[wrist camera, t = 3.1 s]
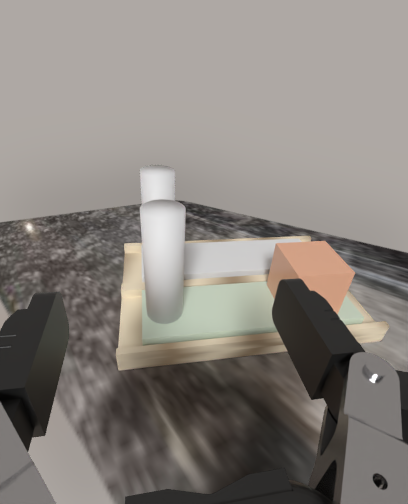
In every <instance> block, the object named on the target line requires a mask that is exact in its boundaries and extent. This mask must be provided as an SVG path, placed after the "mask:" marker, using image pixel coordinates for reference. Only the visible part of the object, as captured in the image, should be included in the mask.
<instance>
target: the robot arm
mask: <svg viewBox="0 0 408 504" xmlns="http://www.w3.org/2000/svg"><path fill="white" fill-rule="evenodd" d="M272 319H273V322H274V325H275V327H276V329H277V331H278V333H279V335H280V337H281V339H282V341H283V343H284V345H285V347H286V349H287V351H288V353H289V355H290V357H291V359H292V361H293V363H294V366H295V368H296V370H297V372H298V374H299V376H300V378H301V380H302V382H303V384H304V386H305V388H306V390H307V392H308V394H309V396H310V398H311V400H314V399H321V398H324V400H325V402H326V404H327V405H326V407H325V410H324V416H323V422H322V427H321V433H320V439H319V444H318V450H317V456H316V461H315V465H314V468H313V471H312V474H311V477H310V480H309V484H308V486H307V485H305V484H303V483H300V482H296V481H293V480H289V479H288V476H287V473H286V470H285V468H281V469H275V470H270V471H264V472H259V473H253V474H248V475H246V476H245V477H243V478H241V479H239V480H237V481H235V482H234V483H232V484H230V485H228V486H226V487H225V488H223V489H221V490H219V491H217V492H215V493H213V494H201V493H193V492H186V491H178V490H171V489H165V490H160V491H154V492H149V493H143V494H138V495H132V496H127V497H125V504H408V372H402V371H397V370H395V369H394V368H393V367H392V366H391V365H390V364H389V363H388V362H387V361H385V360H384V359H382V358H381V357H379V356H377V355H374V354H371V353H367V352H365V351H364V349H363V348H362V347H361V345H360V344H359V343H358V341H357V340H356V339H355V337H354V336H353V335H352V333H351V332H350V331H349V329H348V328H347V327H346V325H345V324H344V323H343V321H342V320H340V317H339V316H338V315H337V313H336V312H335V311H333V308H332V307H331V305H330V304H329V303H328V301H327V300H326V299H325V298H324V297H322V296H321V295H320V294H318V293H317V292H316V291H310V290H309V288H308V287H307V286H306V284H305V283H304V281H303V280H302V279H300V278H297V279H282V280H280V281H279V284H278V288H277V292H276V295H275V299H274V303H273V307H272ZM68 339H69V324H68V319H67V315H66V311H65V307H64V303H63V299H62V295H61V293H60V292H48V293H35V294H34V295H33V297H32V300H31V302H30V304H29V306H28V309H22V310H17V311H16V312H15V313H14V314H13V315H11V316H10V317H9V318H8V319H7V320H6V321H5V323H4V324H3V326H2V328H1V331H0V504H56V502H55V501H54V499H53V497H52V495H51V493H50V492H49V490H48V488H47V486H46V484H45V482H44V480H43V479H42V477H41V475H40V473H39V471H38V470H37V468H36V466H35V464H34V462H33V461H32V459H31V457H30V456H29V454H28V450H29V446H30V443H31V439H32V437H39V436H45V433H46V429H47V425H48V421H49V417H50V413H51V409H52V405H53V401H54V397H55V393H56V389H57V385H58V381H59V377H60V373H61V368H62V364H63V360H64V356H65V352H66V348H67V344H68Z"/></svg>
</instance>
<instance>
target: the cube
mask: <svg viewBox="0 0 408 504" xmlns="http://www.w3.org/2000/svg"><path fill="white" fill-rule="evenodd" d="M354 274H355V272H354V271H353V270H352V269H351V268H350V267H349V266H348V265H347V264H346V263H345V262H344V260H343V259H342V258H341V257H340V256H339V255H338V254H337V253H336V252H335V251H334V250H333V249H332V248H331V247H330V246H329V245H328V244H327V242H326V241H313V242H291V243H276V245H275V249H274V254H273V258H272V263H271V267H270V272H269V276H268V281H267V286H268V288H269V290H270V292H271V294H272V296H273V298H274V299H275V295H276V292H277V288H278V284H279V281H280V280H282V279H297V278H300V279H302V280H303V281H304V283H305V284H306V286H307V287H308V288H309V290H310V291H316V292H317V293H318V294H320V295H321V296H322V297H324V298H325V299H326V300H327V301H328V303H329V304H330V305H331V307H332V308H333V311H335V312H336V313H337V315H338V312H339V310H340V308H341V305H342V303H343V300H344V298H345V296H346V293H347V291H348V289H349V286H350V284H351V282H352V279H353V277H354Z"/></svg>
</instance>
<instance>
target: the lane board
mask: <svg viewBox="0 0 408 504" xmlns="http://www.w3.org/2000/svg"><path fill="white" fill-rule="evenodd" d="M298 238H299V239H300V240H301V241H302V242H310V241H311V237H310V236H295V237H271V238H247V239H223V240H199V241H185V243H206V242H229V241H252V240H275V239H298ZM141 245H142V243H128V244H124V248H125V261H124V275H123V284H121V295H122V303H121V318H120V332H119V346H118V348H116V358H117V364H118V370H119V371H120V370H128V369H137V368H146V367H155V366H164V365H173V364H181V363H190V362H199V361H208V360H217V359H226V358H234V357H243V356H252V355H261V354H270V353H279V352H288V351H287V349H286V347H285V345H284V343H283V341H282V339H281V337H280V335H279V333H278V332H274V333H264V334H254V335H244V336H234V337H224V338H214V339H204V340H194V341H184V342H174V343H164V344H154V345H144V346H143V343H142V290H145V282H142V251H141ZM268 276H269V274H265V275H250V276H234V277H218V278H203V279H187V280H184V284H183V287H192V286H207V285H221V284H236V283H250V282H265V281H268ZM346 296H347V297H348V298H349V300H350V301H351V302H352V303H353V304H354V306H355V307H356V308H357V309H358V310H359V312H360V313H361V314H362V315H363V317H364V320H363V322H362V324H353V325H346V327H347V328H348V329H349V331H350V332H351V333H352V335H353V336H354V337H355V339H356V340H357V341H358V343H367V342H376V341H381V340H382V339H383V337H384V335H385V333H386V332H387V330H388V328H389V325H388V324H387V323H386V322H385V321H383V322H375V321H374V320H373V319H372V318H371V316H370V315H369V314H368V313H367V312H366V310H365V309H364V308H363V307H362V306H361V305H360V303H359V302H358V301H357V300H356V299H355V298H354V296H353V295H352V294H351V293H350V292H349V290H348V291H347V293H346Z"/></svg>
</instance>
